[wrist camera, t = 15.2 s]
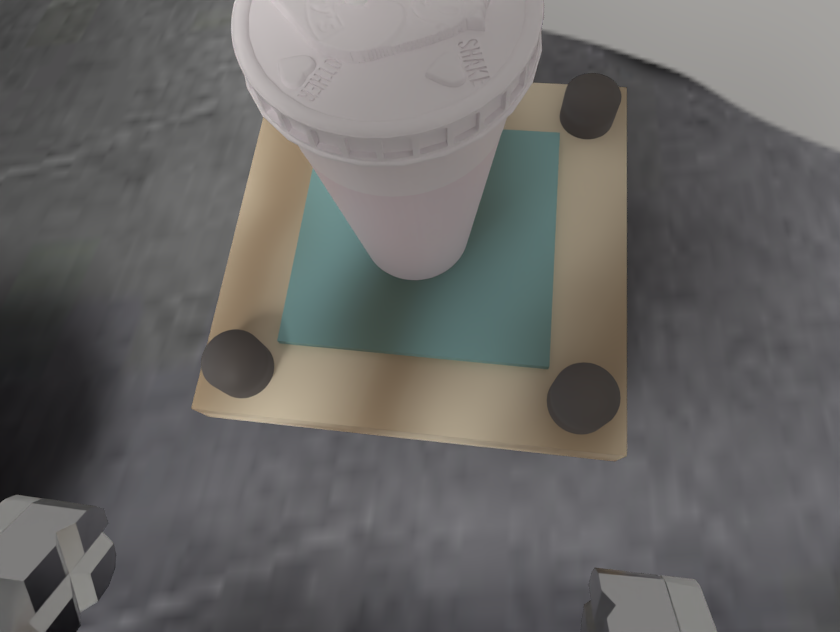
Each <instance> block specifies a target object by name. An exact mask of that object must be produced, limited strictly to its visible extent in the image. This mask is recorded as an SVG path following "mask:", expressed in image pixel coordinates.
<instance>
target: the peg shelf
mask: <svg viewBox="0 0 840 632" xmlns="http://www.w3.org/2000/svg"><path fill="white" fill-rule="evenodd" d="M191 409H193V410H196V411H198V412H200V413H202V414H204V415H207V416H209V417H216V418H225V419H234V420H243V421H253V422H262V423H271V424H280V425H289V426H298V427H307V428H316V429H325V430H334V431H343V432H352V433H362V434H371V435H380V436H389V437H398V438H407V439H416V440H425V441H434V442H443V443H452V444H462V445H471V446H480V447H489V448H498V449H507V450H516V451H525V452H534V453H543V454H552V455H562V456H571V457H580V458H589V459H598V460H607V461H617V460H619V459H621V458H624V457H626V456H627V87H618V85H617V84H616V83H615V82H614V81H613V80H612V79H610V78H609V77H607V76H604V75H601V74H596V73H588V74H583V75H580V76H577V77H576V78H574V79H573V80H572V81H571V82H570V83H569V84H550V83H532V85H531V86H530V88H529V89H528V91H527V92H526V94H525V95H524V97H523V98H522V100H521V101H520V102H519V104H518V105H517V107H516V108H515V110H514V111H513V113H512V114H511V115H509V116H508V117H507V119H506V122H505V125H504V129H503V131H502V133H501V136H500V140H499V143H498V146H497V149H496V152H495V155H494V159H493V162H492V165H491V168H490V171H489V175H488V178H487V181H486V184H485V187H484V191H483V194H482V197H481V200H480V203H479V206H478V210H477V213H476V216H475V219H474V222H473V226H472V229H471V232H470V235H469V238H468V242H467V245H466V248H465V250H464V252H463V254H462V256H461V257H460V258H459V260H458V261H457V262H456V263H455V264H454V265H453V266H452V267H451V268H450V269H448V270H447V271H445V272H444V273H442V274H440V275H438V276H435V277H432V278H429V279H424V280H406V279H401V278H397V277H394V276H392V275H390V274H388V273H386V272H385V271H383V270H382V269H381V268H379V267H378V266H377V265H376V264H375V263H374V261H373V260H372V259H371V257H370V256H369V254H368V252H367V251H366V249H365V248H364V246H363V245H362V243H361V242H360V240H359V239H358V237H357V235H356V234H355V232H354V231H353V229H352V228H351V226H350V225H349V223H348V221H347V220H346V218H345V217H344V215H343V214H342V212H341V211H340V209H339V207H338V206H337V204H336V203H335V201H334V200H333V198H332V197H331V195H330V194H329V192H328V190H327V189H326V187H325V186H324V184H323V183H322V181H321V180H320V178H319V176H318V175H317V173H316V172H315V170H314V169H313V167H312V166H311V164H310V163H309V161H308V160H307V158H306V157H305V155H304V154H303V153H302V151H301V150H300V148H299V146H298V145H297V144H295V143H293V142H291V141H289V140H287V139H286V138H285V137H284V136H283V135H282V134H281V133H280V132H279V131H278V130H277V129H276V128H275V127H274V126H273V125H272V124H270V123H269V122H268V121H267V120H266V119H265V118H264V117H263V121H262V125H261V129H260V133H259V137H258V141H257V145H256V149H255V153H254V157H253V161H252V165H251V169H250V173H249V177H248V181H247V185H246V189H245V194H244V198H243V202H242V206H241V210H240V214H239V218H238V222H237V226H236V230H235V234H234V238H233V242H232V246H231V250H230V254H229V258H228V262H227V266H226V270H225V274H224V278H223V282H222V286H221V290H220V294H219V299H218V303H217V307H216V311H215V315H214V319H213V323H212V327H211V331H210V335H209V339H208V343H207V346H206V347H205V349H204V351H203V354H202V358H201V371H200V375H199V379H198V383H197V387H196V391H195V395H194V399H193V404H192V408H191Z"/></svg>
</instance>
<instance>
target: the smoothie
mask: <svg viewBox="0 0 840 632" xmlns="http://www.w3.org/2000/svg"><path fill="white" fill-rule="evenodd" d="M543 18H544V0H235V2H234V6H233V12H232V18H231V34H232V43H233V47H234V52H235V55H236V58H237V60H238V63H239V65H240V68H241V70H242V72H243V74H244V76H245V80H246V86H247V89H248V90H249V92H250V94H251V96H252V98H253V100H254V101H255V103H256V105H257V107H258V109H259V111H260V112H261V114H262V116H263V117H264V118H265V119H266V120H267V121H268V122H269V123H270V124H272V125H273V126H274V127H275V128H276V129H277V130H278V131H279V132H280V133H281V134H282V135H283V136H284V137H285V138H286V139H287V140H289V141H291V142H293V143H295V144H297V145H298V146H299V148H300V150H301V151H302V153H303V154H304V155H305V157H306V158H307V160H308V161H309V163H310V164H311V166H312V167H313V169H314V170H315V172H316V173H317V175H318V176H319V178H320V180H321V181H322V183H323V184H324V186H325V187H326V189H327V190H328V192H329V194H330V195H331V197H332V198H333V200H334V201H335V203H336V204H337V206H338V207H339V209H340V211H341V212H342V214H343V215H344V217H345V218H346V220H347V221H348V223H349V225H350V226H351V228H352V229H353V231H354V232H355V234H356V235H357V237H358V239H359V240H360V242H361V243H362V245H363V246H364V248H365V249H366V251H367V252H368V254H369V256H370V257H371V259H372V260H373V261H374V263H375V264H376V265H377V266H378V267H379V268H381V269H382V270H383V271H385V272H386V273H388V274H390V275H392V276H394V277H397V278H401V279H406V280H424V279H429V278H432V277H435V276H438V275H440V274H442V273H444V272H445V271H447V270H448V269H450V268H451V267H452V266H453V265H454V264H455V263H456V262H457V261H458V260H459V258H460V257H461V256H462V254H463V252H464V250H465V248H466V245H467V242H468V238H469V235H470V232H471V229H472V226H473V222H474V219H475V216H476V213H477V210H478V206H479V203H480V200H481V197H482V194H483V191H484V187H485V184H486V181H487V178H488V175H489V171H490V168H491V165H492V162H493V159H494V155H495V152H496V149H497V146H498V143H499V140H500V136H501V133H502V131H503V129H504V125H505V122H506V119H507V117H508V116H509V115H511V114H512V113H513V111H514V110H515V108H516V107H517V105H518V104H519V102H520V101H521V100H522V98H523V97H524V95H525V94H526V92H527V91H528V89H529V88H530V86H531V85H532V83H533V80H534V77H535V73H536V70H537V66H538V63H539V59H540V56H541V52H542V39H541V29H542V24H543Z"/></svg>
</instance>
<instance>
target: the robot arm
mask: <svg viewBox="0 0 840 632" xmlns="http://www.w3.org/2000/svg"><path fill="white" fill-rule="evenodd" d="M108 524H109V523H108V520H107V517H106V514H105V510H104V509H103V508H100V507H97V506H91V505H84V504H78V503H71V502H65V501H58V500H52V499H45V498H36V497H29V496H22V495H14V496H11V497H9V498H6V499H4V500H3V501H2V502H1V503H0V632H76V631H77V630H78V628H79V627H80V626H81V611H83V610H85V609H86V608H88V607H90V606H91V605H93V604H94V603H96V602H98V601H99V599H100V598H101V596H102V595H103V593H104V592H105V590H106V589H107V588H108V586H109V584H110V581H111V578H112V576H113V573H114V570H115V566H116V551H115V547H114V543H113V542H112V541H111V540H110V539H109V538H108V537H107V536H106V535H105V534H104V533H103V531H104V529H105V528H106V527H107V525H108ZM588 585H589V592H590V599H591V600H590V601H589V602H587V603H586V604H584V607H583V613H582V618H581V631H580V632H717V630H716V627H715V625H714V622H713V619H712V616H711V614H710V611H709V608H708V606H707V603H706V600H705V598H704V595H703V592H702V590H701V587H700V585H699V584H698V583H697V582H696V580H695V579H687V578H679V577H670V576H662V575H661V576H658V575H655V574H646V573H637V572H629V571H620V570H611V569H602V568H594V569H593V571H592V573H591V576H590V580H589V584H588Z"/></svg>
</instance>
